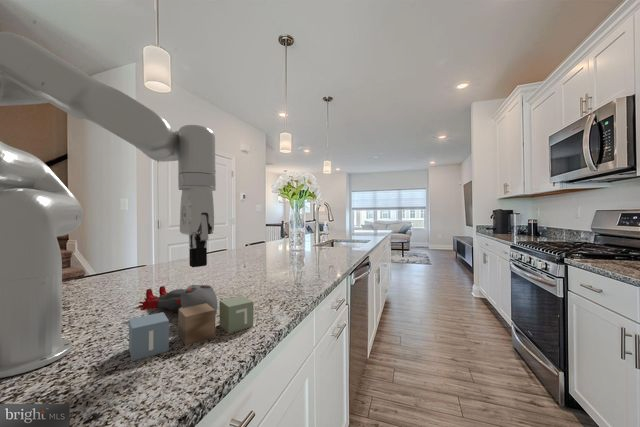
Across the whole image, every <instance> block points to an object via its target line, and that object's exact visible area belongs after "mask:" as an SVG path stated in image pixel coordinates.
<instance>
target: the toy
mask: <svg viewBox="0 0 640 427" xmlns="http://www.w3.org/2000/svg"><path fill="white" fill-rule="evenodd" d="M166 290H167V289H166V287H165V286H164V285H162V286H160V287H159V290H158V291H159V296H156V295H154V293H153V290H152V288H147V289H146V291H145V297H144V298H143V299H144V301H139V303H138V304H139V305H138V306H137V308H140V311H144V310H155V309H156V310H157V309H161V308H167V310H169V311H173V310H179V309H181V308H186V307H191V306H196V305H200V304H205V303H207V304H208V305H210V306H211V307H212V308H213V309H215V316H216V314H217V312H218V307H219V306H218V298H217V295H216V293H215V291H214V288H213V287H212V286H211V285H208V284H190V285H189V286H188V287H186V288H178V289H177V288H176V289H173V290H170V291H168V292H167V291H166Z"/></svg>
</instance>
